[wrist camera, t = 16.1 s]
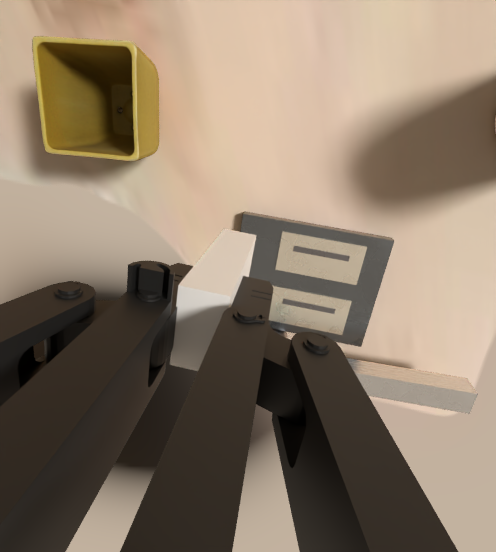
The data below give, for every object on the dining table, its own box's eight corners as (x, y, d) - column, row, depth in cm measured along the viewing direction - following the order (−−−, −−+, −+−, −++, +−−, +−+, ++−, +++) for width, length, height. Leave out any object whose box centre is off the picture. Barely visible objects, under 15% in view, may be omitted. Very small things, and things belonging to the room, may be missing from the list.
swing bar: (248, 364, 41) (244, 382, 38) (252, 337, 39) (247, 354, 36) (457, 401, 38) (471, 423, 35) (468, 373, 37) (483, 394, 34)
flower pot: (92, 59, 36) (28, 34, 28) (175, 64, 35) (134, 40, 27) (99, 150, 39) (43, 153, 31) (175, 157, 38) (138, 162, 30)
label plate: (229, 314, 44) (227, 320, 42) (244, 211, 39) (242, 214, 38) (359, 341, 42) (361, 348, 41) (391, 237, 38) (394, 241, 36)
